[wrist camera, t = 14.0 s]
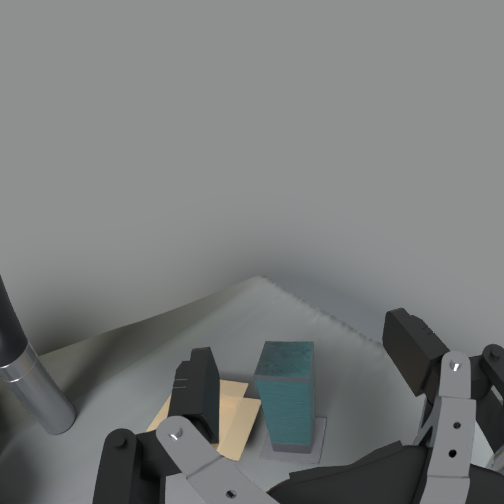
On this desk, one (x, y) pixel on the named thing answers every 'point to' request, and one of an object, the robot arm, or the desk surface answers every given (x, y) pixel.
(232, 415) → the carton
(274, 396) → the tall box
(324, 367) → the desk surface
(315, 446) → the mat
